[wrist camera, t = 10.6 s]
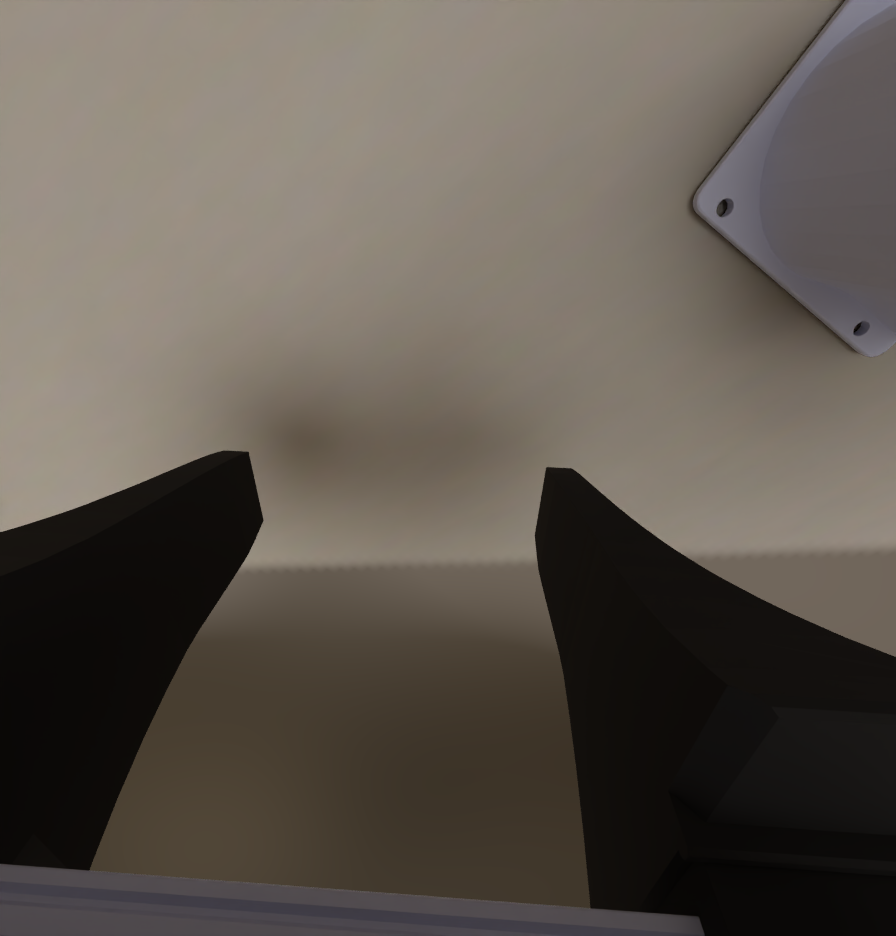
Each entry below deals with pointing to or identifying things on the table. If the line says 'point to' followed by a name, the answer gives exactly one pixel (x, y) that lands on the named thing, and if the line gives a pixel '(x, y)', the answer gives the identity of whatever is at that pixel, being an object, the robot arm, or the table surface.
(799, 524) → the table surface
